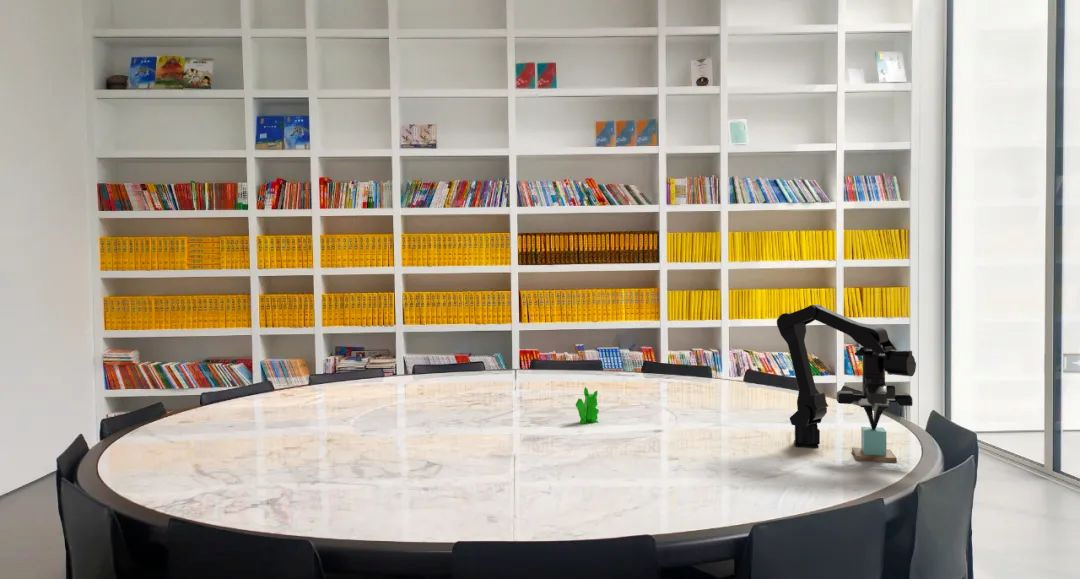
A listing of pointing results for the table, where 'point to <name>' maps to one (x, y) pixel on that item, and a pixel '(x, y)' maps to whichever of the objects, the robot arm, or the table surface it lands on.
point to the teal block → (873, 441)
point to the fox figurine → (588, 408)
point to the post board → (874, 456)
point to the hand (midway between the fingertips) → (873, 429)
